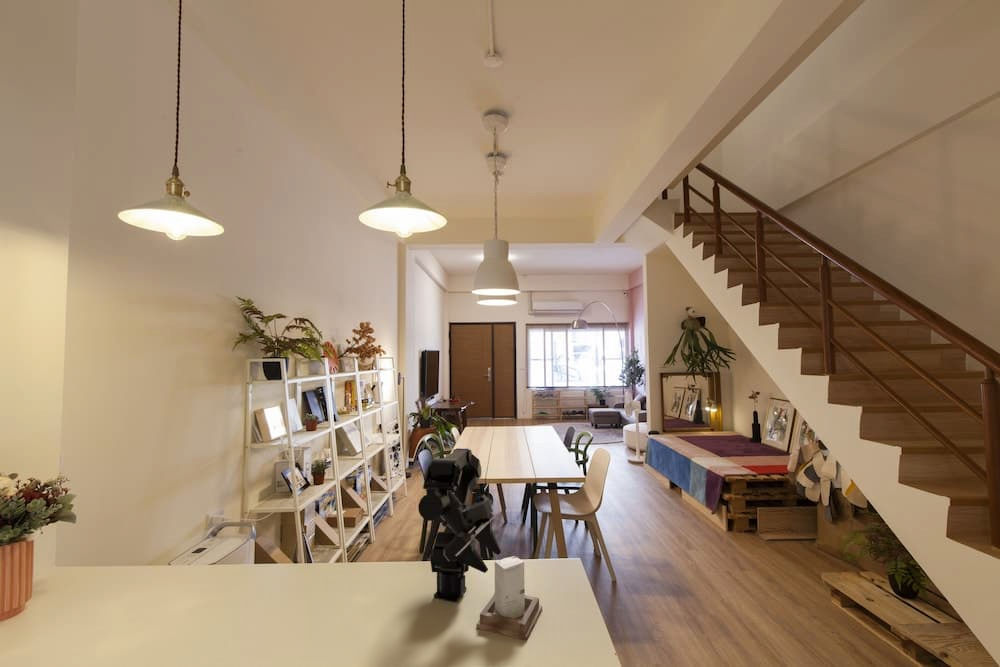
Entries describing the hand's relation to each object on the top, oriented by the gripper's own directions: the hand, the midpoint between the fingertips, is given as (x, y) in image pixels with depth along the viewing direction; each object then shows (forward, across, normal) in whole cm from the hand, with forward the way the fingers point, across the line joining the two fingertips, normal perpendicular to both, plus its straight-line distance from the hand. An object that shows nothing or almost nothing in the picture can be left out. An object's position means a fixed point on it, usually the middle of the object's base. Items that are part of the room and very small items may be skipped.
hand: (493, 562), depth 103 cm
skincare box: (+11, +2, +6) cm, 13 cm away
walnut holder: (+12, +1, +6) cm, 13 cm away
